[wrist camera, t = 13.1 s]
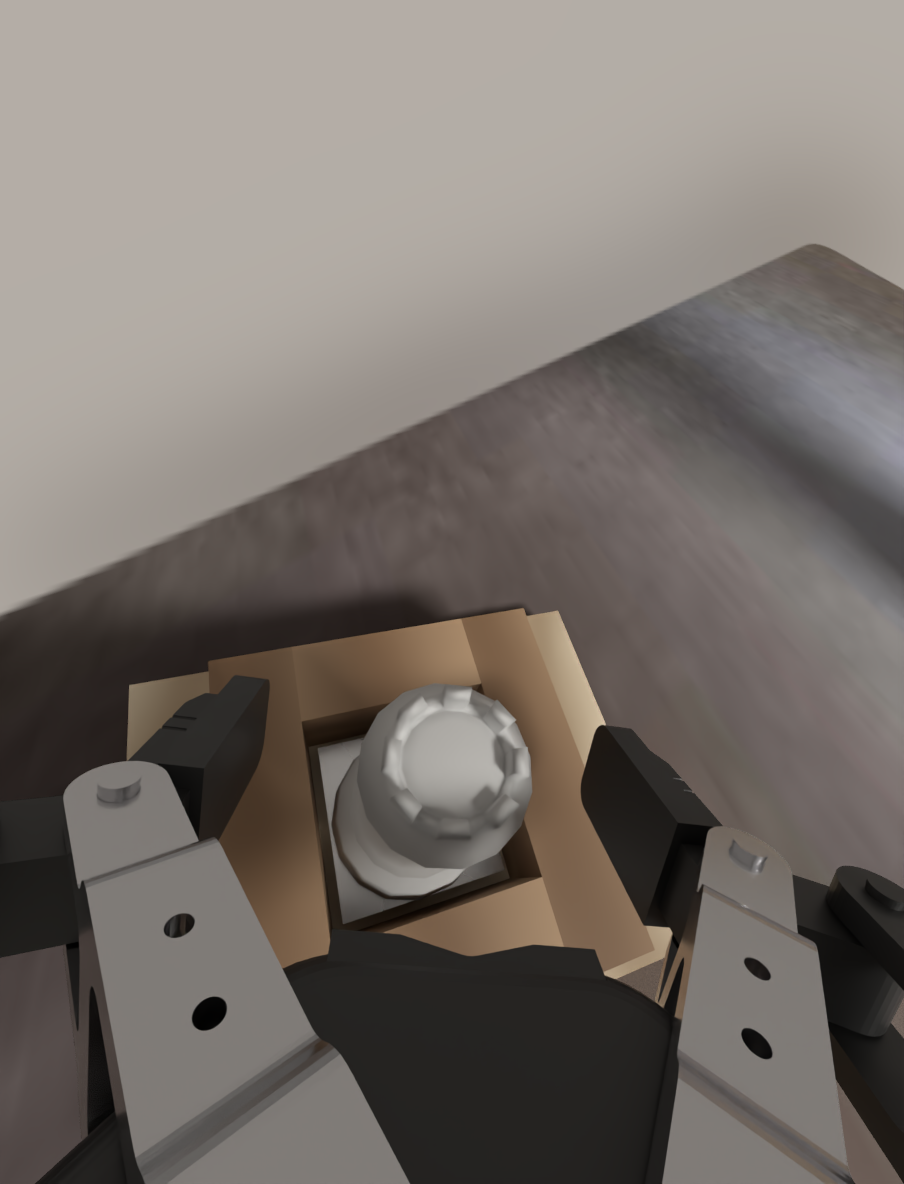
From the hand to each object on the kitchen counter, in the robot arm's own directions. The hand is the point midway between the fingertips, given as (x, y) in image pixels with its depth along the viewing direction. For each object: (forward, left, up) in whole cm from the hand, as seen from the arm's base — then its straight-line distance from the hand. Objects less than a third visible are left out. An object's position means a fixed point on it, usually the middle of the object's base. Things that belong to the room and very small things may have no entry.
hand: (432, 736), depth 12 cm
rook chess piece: (0, +1, -5) cm, 5 cm away
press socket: (0, +1, -7) cm, 7 cm away
